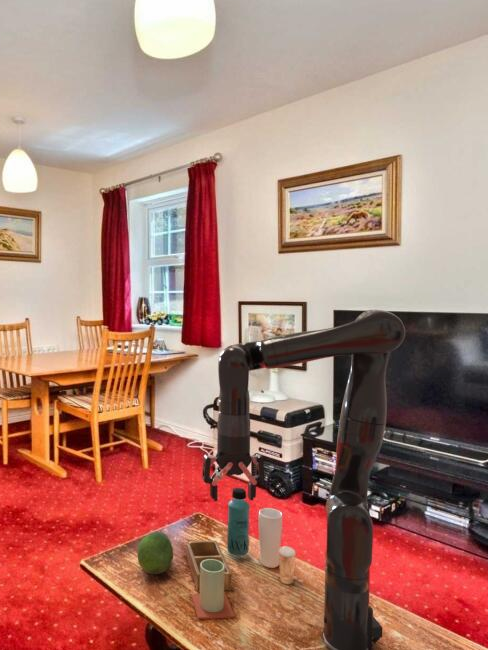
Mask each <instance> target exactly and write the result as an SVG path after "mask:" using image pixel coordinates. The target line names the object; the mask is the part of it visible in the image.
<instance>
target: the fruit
mask: <svg viewBox="0 0 488 650" xmlns="http://www.w3.org/2000/svg"><path fill="white" fill-rule="evenodd" d="M173 559H174V548H173V545H172V542H171V540H170V538H169V536H168V535H167V534H166V533H164V532H162V531H153V532H150V533H149V534H147V535H145V536H144V537H143V538H142V539H141V541H140V542H139V544H138V547H137V563H138V564H139V566H140V568H141V570H143V571H144V572H145V573H147V574H149V575H160V574H161V575H162V574H163V573H164V572H166V571H168V569H169V568H170V567H171V565H172V562H173Z"/></svg>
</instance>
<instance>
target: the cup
mask: <svg viewBox="0 0 488 650" xmlns="http://www.w3.org/2000/svg"><path fill="white" fill-rule="evenodd" d="M224 581H225V566H224V564H223V563H222V562H221V561H218V560H215V559H206V560H203V561H202V562H201V563H200V592H199V594H200V606H201V608H202V609H204V610H205V611H208V612H219V611H221V610H222V609H223V608H224V593H225V590H224Z"/></svg>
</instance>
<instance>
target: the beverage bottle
mask: <svg viewBox="0 0 488 650" xmlns="http://www.w3.org/2000/svg"><path fill="white" fill-rule="evenodd" d="M231 497H232V499H231V500H230V501H228V503H227V505H228V509H227V511H228V512H227V534H226V536H227V539H226V540H227V541H226V542H227V543H226V549H227V552H228V553H229V554H230V555H232V556H236V557H243V556H247V554H248V553H249V547H250V536H249V535H250V504H249V503H248V502H247V500H245V499H247V491H246V489H245V488H243V487H234V488H232V493H231Z"/></svg>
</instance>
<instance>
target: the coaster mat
mask: <svg viewBox="0 0 488 650" xmlns="http://www.w3.org/2000/svg"><path fill="white" fill-rule="evenodd" d="M190 596H191V600H192V604H193V608H194V610H195V614H196V617H197V620H214V619H216V620H217V619H234V618H235V617H236V615H235V613H234V611H233V608H232V606H231V603H230V601H229V599H228V596H227V594H226V592H224V608H223V609H222V610H221V611H219V612H208V611H205V610H204V609H202V608H201V606H200V593H197V594H194V593H193V594H191V595H190Z"/></svg>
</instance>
